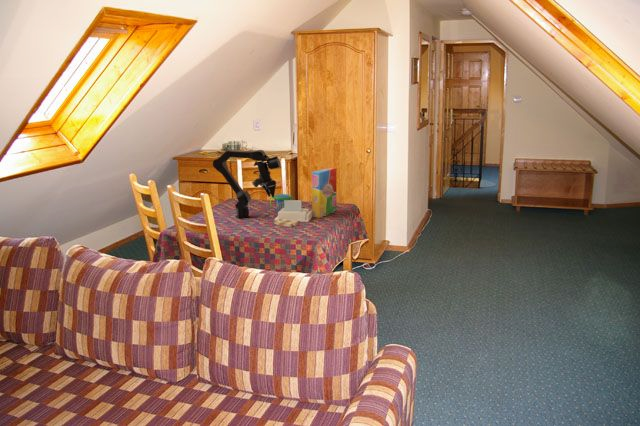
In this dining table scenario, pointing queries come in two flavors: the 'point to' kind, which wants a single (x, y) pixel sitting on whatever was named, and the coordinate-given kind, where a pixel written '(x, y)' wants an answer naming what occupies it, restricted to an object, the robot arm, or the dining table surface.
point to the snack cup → (280, 200)
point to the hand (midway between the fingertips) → (271, 197)
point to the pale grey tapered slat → (292, 205)
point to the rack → (295, 215)
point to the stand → (286, 222)
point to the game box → (324, 192)
